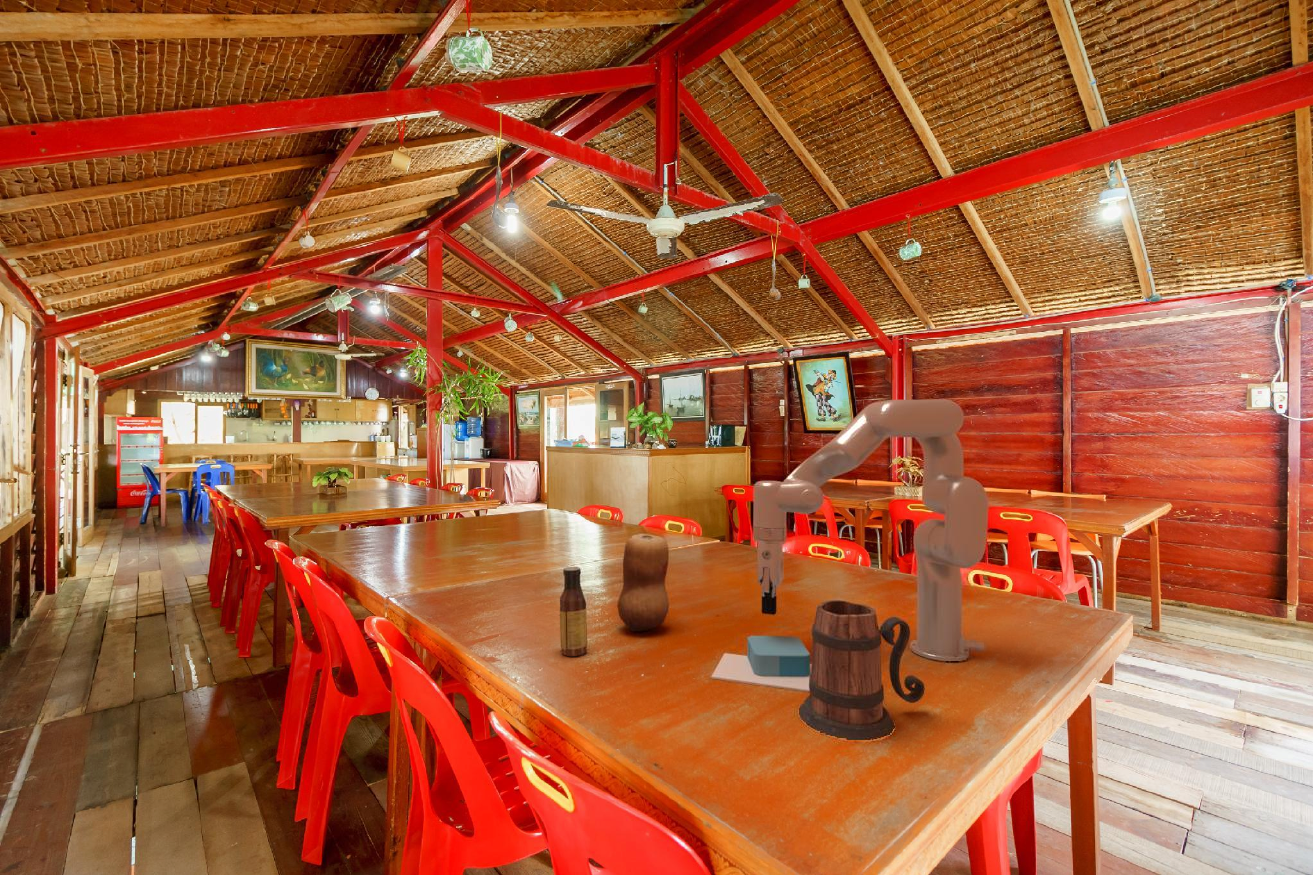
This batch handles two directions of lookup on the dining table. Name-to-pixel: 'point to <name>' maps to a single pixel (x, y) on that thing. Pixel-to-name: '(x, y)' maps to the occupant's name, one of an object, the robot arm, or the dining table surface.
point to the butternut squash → (644, 582)
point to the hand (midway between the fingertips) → (769, 613)
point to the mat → (742, 672)
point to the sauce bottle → (573, 614)
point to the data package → (778, 656)
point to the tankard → (853, 672)
